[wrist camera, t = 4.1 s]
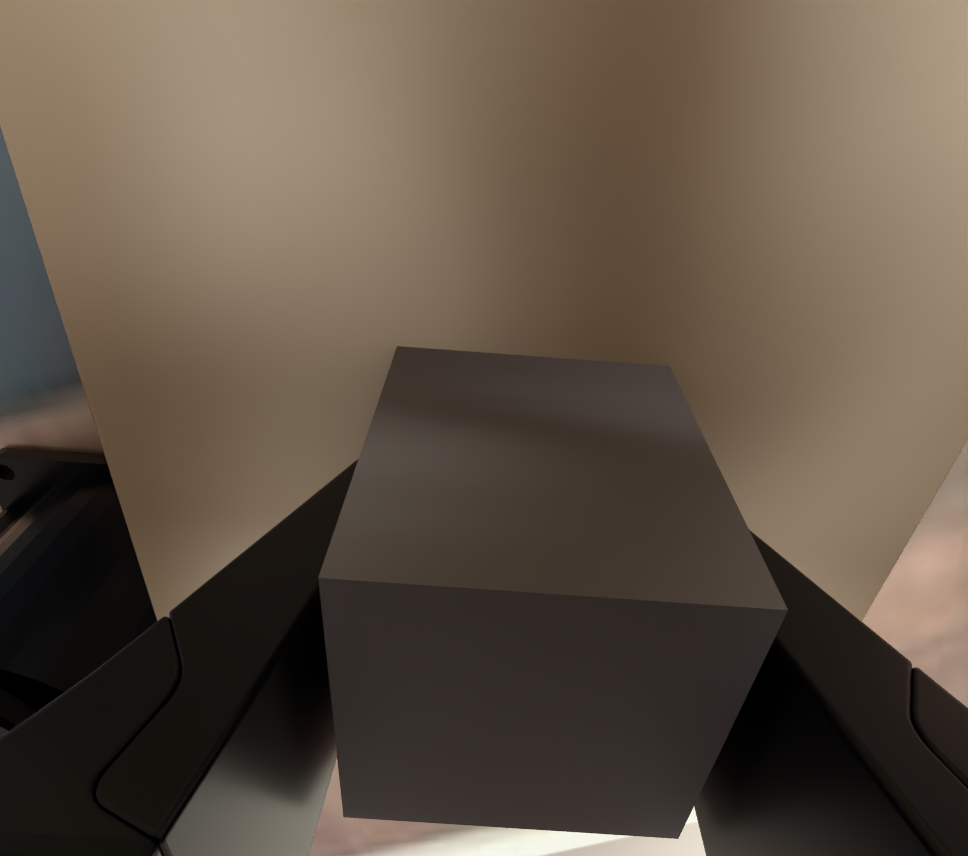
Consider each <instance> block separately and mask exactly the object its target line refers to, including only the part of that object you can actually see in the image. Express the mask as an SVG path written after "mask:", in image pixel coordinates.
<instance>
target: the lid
mask: <svg viewBox="0 0 968 856" xmlns="http://www.w3.org/2000/svg"><path fill="white" fill-rule="evenodd" d="M0 126H1V130H2V133H3V136H4V139H5V142H6V145H7V148H8V152H9V155H10V158H11V161H12V164H13V167H14V171H15V174H16V177H17V180H18V183H19V186H20V189H21V193H22V196H23V199H24V202H25V205H26V208H27V211H28V215H29V218H30V221H31V224H32V227H33V230H34V234H35V237H36V240H37V243H38V246H39V249H40V252H41V256H42V259H43V262H44V265H45V268H46V271H47V275H48V278H49V281H50V284H51V287H52V290H53V293H54V297H55V300H56V303H57V306H58V309H59V312H60V315H61V319H62V322H63V325H64V328H65V331H66V334H67V338H68V341H69V344H70V347H71V350H72V353H73V356H74V360H75V363H76V366H77V369H78V372H79V375H80V379H81V382H82V385H83V388H84V391H85V394H86V397H87V401H88V404H89V407H90V410H91V413H92V416H93V420H94V423H95V426H96V429H97V432H98V435H99V438H100V442H101V445H102V448H103V451H104V454H105V457H106V460H107V464H108V467H109V470H110V473H111V476H112V479H113V483H114V486H115V489H116V492H117V495H118V498H119V501H120V505H121V508H122V511H123V514H124V517H125V520H126V524H127V527H128V530H129V533H130V536H131V539H132V542H133V546H134V549H135V552H136V555H137V558H138V561H139V564H140V568H141V571H142V574H143V577H144V580H145V583H146V587H147V590H148V593H149V596H150V599H151V602H152V605H153V609H154V612H155V615H156V618H157V621H158V620H159V619H161V618H162V617H165V616H166V617H168V618H169V612H170V611H171V610H172V609H173V608H175V607H176V606H177V605H178V604H180V603H181V602H182V601H183V600H184V599H186V598H187V597H188V596H189V595H191V594H192V593H193V592H194V591H196V590H197V589H198V588H199V587H201V586H202V585H203V584H204V583H205V582H207V581H208V580H209V579H210V578H212V577H213V576H214V575H215V574H217V573H218V572H219V571H220V570H221V569H223V568H224V567H225V566H226V565H228V564H229V563H230V562H231V561H233V560H234V559H235V558H236V557H237V556H239V555H240V554H241V553H242V552H244V551H245V550H246V549H247V548H249V547H250V546H251V545H252V544H254V543H255V542H256V541H257V540H258V539H260V538H261V537H262V536H263V535H265V534H266V533H267V532H268V531H270V530H271V529H272V528H273V527H274V526H276V525H277V524H278V523H279V522H281V521H282V520H283V519H284V518H286V517H287V516H288V515H289V514H290V513H292V512H293V511H294V510H295V509H297V508H298V507H299V506H300V505H302V504H303V503H304V502H305V501H306V500H308V499H309V498H310V497H311V496H313V495H314V494H315V493H316V492H318V491H319V490H320V489H321V488H323V487H324V486H325V485H326V484H327V483H329V482H330V481H331V480H332V479H334V478H335V477H336V476H337V475H339V474H340V473H341V472H342V471H343V470H345V469H346V468H347V467H348V466H350V465H351V464H352V463H353V462H355V461H356V460H357V459H359V460H358V462H357V465H356V468H355V471H354V474H353V477H352V480H351V483H350V486H349V489H348V492H347V495H346V498H345V501H344V504H343V507H342V509H341V512H340V515H339V518H338V521H337V524H336V527H335V530H334V533H333V536H332V539H331V542H330V545H329V548H328V551H327V554H326V557H325V559H324V562H323V565H322V568H321V571H320V574H319V577H318V580H319V589H320V599H321V608H322V618H323V627H324V637H325V646H326V655H327V665H328V674H329V684H330V693H331V703H332V712H333V721H334V731H335V740H336V750H337V759H338V769H339V778H340V788H341V797H342V806H343V816H344V817H349V818H365V819H381V820H396V821H412V822H427V823H443V824H458V825H474V826H489V827H505V828H520V829H536V830H551V831H567V832H582V833H598V834H613V835H629V836H644V837H660V838H675V839H678V838H679V836H680V834H681V832H682V830H683V828H684V825H685V823H686V821H687V819H688V817H689V815H690V813H691V811H692V809H693V807H694V805H695V803H696V801H697V798H698V796H699V794H700V792H701V790H702V788H703V786H704V784H705V782H706V780H707V778H708V776H709V774H710V771H711V769H712V767H713V765H714V763H715V761H716V759H717V757H718V755H719V753H720V751H721V749H722V747H723V744H724V742H725V740H726V738H727V736H728V734H729V732H730V730H731V728H732V726H733V724H734V722H735V720H736V717H737V715H738V713H739V711H740V709H741V707H742V705H743V703H744V701H745V699H746V697H747V695H748V693H749V690H750V688H751V686H752V684H753V682H754V680H755V678H756V676H757V674H758V672H759V670H760V668H761V666H762V664H763V661H764V659H765V657H766V655H767V653H768V651H769V649H770V647H771V645H772V643H773V641H774V639H775V637H776V634H777V632H778V630H779V628H780V626H781V624H782V622H783V620H784V618H785V616H786V614H787V612H788V609H787V607H786V605H785V603H784V601H783V599H782V597H781V594H780V592H779V590H778V588H777V586H776V584H775V582H774V580H773V578H772V576H771V574H770V572H769V570H768V568H767V566H766V564H765V562H764V559H763V557H762V555H761V553H760V551H759V549H758V547H757V545H756V543H755V541H754V539H753V537H752V535H751V533H750V531H749V530H751V531H752V532H753V533H754V534H755V535H757V536H758V537H759V538H760V539H762V540H763V541H764V542H765V543H766V544H768V545H769V546H770V547H771V548H772V549H774V550H775V551H776V552H777V553H779V554H780V555H781V556H782V557H783V558H785V559H786V560H787V561H788V562H790V563H791V564H792V565H793V566H794V567H796V568H797V569H798V570H799V571H801V572H802V573H803V574H804V575H805V576H807V577H808V578H809V579H810V580H812V581H813V582H814V583H815V584H816V585H818V586H819V587H820V588H821V589H822V590H824V591H825V592H826V593H827V594H829V595H830V596H831V597H832V598H833V599H835V600H836V601H837V602H838V603H840V604H841V605H842V606H843V607H844V608H846V609H847V610H848V611H849V612H851V613H852V614H853V615H854V616H855V617H857V618H858V619H859V620H860V621H861V622H862V620H863V618H864V617H865V615H866V613H867V611H868V610H869V608H870V606H871V605H872V603H873V601H874V599H875V598H876V596H877V594H878V593H879V591H880V589H881V587H882V586H883V584H884V582H885V581H886V579H887V577H888V575H889V574H890V572H891V570H892V569H893V567H894V565H895V563H896V562H897V560H898V558H899V556H900V555H901V553H902V551H903V550H904V548H905V546H906V544H907V543H908V541H909V539H910V538H911V536H912V534H913V532H914V531H915V529H916V527H917V526H918V524H919V522H920V520H921V519H922V517H923V515H924V514H925V512H926V510H927V508H928V507H929V505H930V503H931V502H932V500H933V498H934V496H935V495H936V493H937V491H938V490H939V488H940V486H941V484H942V483H943V481H944V479H945V478H946V476H947V474H948V472H949V471H950V469H951V467H952V466H953V464H954V462H955V460H956V459H957V457H958V455H959V453H960V452H961V450H962V448H963V447H964V445H965V443H966V441H967V440H968V0H0ZM169 619H170V618H169Z"/></svg>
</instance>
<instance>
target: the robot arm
mask: <svg viewBox="0 0 968 856" xmlns="http://www.w3.org/2000/svg"><path fill="white" fill-rule="evenodd" d="M358 460H359V459H357V460H356V461H355V462H353V463H352V464H351V465H350V466H348V467H347V468H346V469H345V470H343V471H342V472H341V473H340V474H339V475H337V476H336V477H335V478H334V479H332V480H331V481H330V482H329V483H327V484H326V485H325V486H324V487H323V488H321V489H320V490H319V491H318V492H316V493H315V494H314V495H313V496H311V497H310V498H309V499H308V500H306V501H305V502H304V503H303V504H302V505H300V506H299V507H298V508H297V509H295V510H294V511H293V512H292V513H290V514H289V515H288V516H287V517H286V518H284V519H283V520H282V521H281V522H279V523H278V524H277V525H276V526H274V527H273V528H272V529H271V530H270V531H268V532H267V533H266V534H265V535H263V536H262V537H261V538H260V539H258V540H257V541H256V542H255V543H254V544H252V545H251V546H250V547H249V548H247V549H246V550H245V551H244V552H242V553H241V554H240V555H239V556H237V557H236V558H235V559H234V560H233V561H231V562H230V563H229V564H228V565H226V566H225V567H224V568H223V569H221V570H220V571H219V572H218V573H217V574H215V575H214V576H213V577H212V578H210V579H209V580H208V581H207V582H205V583H204V584H203V585H202V586H201V587H199V588H198V589H197V590H196V591H194V592H193V593H192V594H191V595H189V596H188V597H187V598H186V599H184V600H183V601H182V602H181V603H180V604H178V605H177V606H176V607H175V608H173V609H172V610H171V611H170V612H169V618H170V619H169V618H168V617H166V616H165V617H162V618H161V619H159V620H158V621H157V618H156V615H155V612H154V609H153V605H152V602H151V599H150V596H149V593H148V590H147V587H146V583H145V580H144V577H143V574H142V571H141V568H140V564H139V561H138V558H137V555H136V552H135V549H134V546H133V542H132V539H131V536H130V533H129V530H128V527H127V524H126V520H125V517H124V514H123V511H122V508H121V505H120V501H119V498H118V495H117V492H116V489H115V486H114V483H113V479H112V476H111V473H110V470H109V467H108V464H107V460H106V457H105V455H102V454H88V453H73V452H59V451H44V450H30V449H16V448H3V449H0V505H1V507H2V510H3V512H2V513H1V514H0V856H308V854H309V851H310V847H311V844H312V841H313V837H314V834H315V830H316V827H317V823H318V820H319V816H320V813H321V810H322V806H323V803H324V799H325V796H326V792H327V789H328V786H329V782H330V779H331V775H332V772H333V768H334V765H335V762H336V758H337V750H336V740H335V731H334V721H333V712H332V703H331V693H330V684H329V674H328V665H327V655H326V646H325V637H324V627H323V618H322V608H321V599H320V589H319V580H318V577H319V574H320V571H321V568H322V565H323V562H324V559H325V557H326V554H327V551H328V548H329V545H330V542H331V539H332V536H333V533H334V530H335V527H336V524H337V521H338V518H339V515H340V512H341V509H342V507H343V504H344V501H345V498H346V495H347V492H348V489H349V486H350V483H351V480H352V477H353V474H354V471H355V468H356V465H357V462H358ZM10 468H11V469H10ZM749 531H750V533H751V535H752V537H753V539H754V541H755V543H756V545H757V547H758V549H759V551H760V553H761V555H762V557H763V559H764V562H765V564H766V566H767V568H768V570H769V572H770V574H771V576H772V578H773V580H774V582H775V584H776V586H777V588H778V590H779V592H780V594H781V597H782V599H783V601H784V603H785V605H786V607H787V609H788V612H787V614H786V616H785V618H784V620H783V622H782V624H781V626H780V628H779V630H778V632H777V634H776V637H775V639H774V641H773V643H772V645H771V647H770V649H769V651H768V653H767V655H766V657H765V659H764V661H763V664H762V666H761V668H760V670H759V672H758V674H757V676H756V678H755V680H754V682H753V684H752V686H751V688H750V690H749V693H748V695H747V697H746V699H745V701H744V703H743V705H742V707H741V709H740V711H739V713H738V715H737V717H736V720H735V722H734V724H733V726H732V728H731V730H730V732H729V734H728V736H727V738H726V740H725V742H724V744H723V747H722V749H721V751H720V753H719V755H718V757H717V759H716V761H715V763H714V765H713V767H712V769H711V771H710V774H709V776H708V778H707V780H706V782H705V784H704V786H703V788H702V790H701V792H700V794H699V796H698V798H697V801H696V803H695V805H694V807H695V811H696V815H697V819H698V824H699V828H700V832H701V836H702V840H703V844H704V848H705V853H706V856H968V708H967V707H966V706H965V705H963V704H962V703H961V702H960V701H958V700H957V699H956V698H955V697H953V696H952V695H951V694H950V693H948V692H947V691H946V690H945V689H943V688H942V687H941V686H940V685H939V684H937V683H936V682H935V681H934V680H933V679H931V678H930V677H929V676H928V675H926V674H925V673H924V672H923V671H922V670H920V669H919V668H912V664H911V662H910V661H909V660H908V659H907V658H905V657H904V656H903V655H902V654H900V653H899V652H898V651H897V650H896V649H894V648H893V647H892V646H891V645H890V644H888V643H887V642H886V641H885V640H883V639H882V638H881V637H880V636H879V635H877V634H876V633H875V632H874V631H872V630H871V629H870V628H869V627H868V626H866V625H865V624H864V623H863V622H861V621H860V620H859V619H858V618H857V617H855V616H854V615H853V614H852V613H851V612H849V611H848V610H847V609H846V608H844V607H843V606H842V605H841V604H840V603H838V602H837V601H836V600H835V599H833V598H832V597H831V596H830V595H829V594H827V593H826V592H825V591H824V590H822V589H821V588H820V587H819V586H818V585H816V584H815V583H814V582H813V581H812V580H810V579H809V578H808V577H807V576H805V575H804V574H803V573H802V572H801V571H799V570H798V569H797V568H796V567H794V566H793V565H792V564H791V563H790V562H788V561H787V560H786V559H785V558H783V557H782V556H781V555H780V554H779V553H777V552H776V551H775V550H774V549H772V548H771V547H770V546H769V545H768V544H766V543H765V542H764V541H763V540H762V539H760V538H759V537H758V536H757V535H755V534H754V533H753V532H752V531H751V530H749Z"/></svg>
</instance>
